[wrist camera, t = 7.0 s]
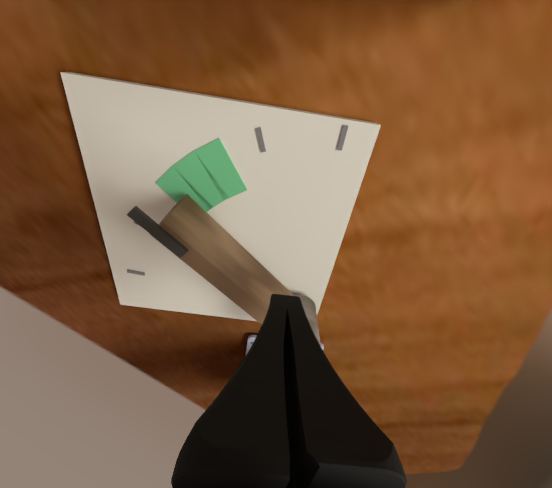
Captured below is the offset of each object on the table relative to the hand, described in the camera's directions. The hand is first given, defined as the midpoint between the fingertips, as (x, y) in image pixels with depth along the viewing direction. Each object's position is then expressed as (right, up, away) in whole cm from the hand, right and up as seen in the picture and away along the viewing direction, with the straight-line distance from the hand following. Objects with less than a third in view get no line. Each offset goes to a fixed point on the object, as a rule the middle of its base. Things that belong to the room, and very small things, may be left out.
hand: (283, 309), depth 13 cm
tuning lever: (-3, +2, +7) cm, 8 cm away
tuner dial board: (-4, +4, +8) cm, 10 cm away
